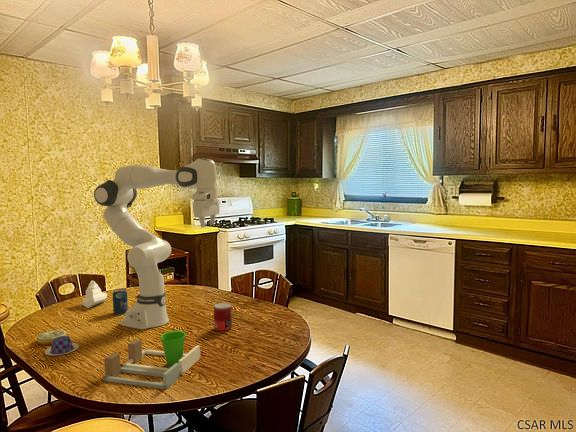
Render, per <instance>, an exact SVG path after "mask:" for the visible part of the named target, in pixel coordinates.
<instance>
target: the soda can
mask: <svg viewBox="0 0 576 432" xmlns="http://www.w3.org/2000/svg"><path fill="white" fill-rule="evenodd" d="M128 304H129V303H128V292H127V290H126V288H117V289H114V290H113V292H112V311H113V314H115V315H116V314H117V315H118V316H120V315H124V314H126V311H127V310H128V309H129V305H128Z"/></svg>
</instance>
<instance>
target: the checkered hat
mask: <svg viewBox="0 0 576 432" xmlns="http://www.w3.org/2000/svg"><path fill="white" fill-rule="evenodd" d="M73 346H74V347H75V349H74V347H73ZM79 347H80V345H79V344H78V343H74V342H72V340H71V338H70V336H68V335H66V336H60V337H57V338H55V339H54V340H53V342H52V344H51V346H50V347H48V348H46V349H45V351H44V355H47V356H56V355H58V356H63V355H66V354H70V353H72V352H74V351H76V350H78V349H79Z"/></svg>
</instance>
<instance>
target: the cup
mask: <svg viewBox="0 0 576 432" xmlns="http://www.w3.org/2000/svg"><path fill="white" fill-rule="evenodd" d="M186 333H187V332H185V331H183V330H171V331H166V332H164V333H162V334H160V339H161V342H162V347H163V351H164V353H165V356H164V358H165V361H166V365H167V368H171V367H172V366H173V365H174V364H175V363H179V360H180V359H181V358H182V356H183V353H184V347H185V340H186V336H187V334H186Z"/></svg>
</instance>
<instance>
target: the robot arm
mask: <svg viewBox="0 0 576 432" xmlns="http://www.w3.org/2000/svg"><path fill="white" fill-rule="evenodd" d="M217 178H218V176H217V167H216V162H215V161H214V160H213V159H210V158H204V157H199V158H197V159H196V160H194V161H193V162H192V163H189V164H187V165H184V166H181V167H179V168H178V169H176V170H171V169H164V168H159V167H156V166H151V165H146V164H145V165H144V164H130V165H124V166H121V167H118V168H117V169H116V171H115V173H114V179H113V180H111V179H107V180H106V181H105V182H103V183H101V184H99V185H98V186H97V187H96V188H95V189H94V192H93V198H94V200H95V202H96V203H97V204H98V205H100V206H104V207H106V208H105V209H104V211H103V215H102V217H103V219H104V220H105V223H106V224H107V225H108V227H109V228H110V229H111V230H112V232H113V233H114V234H115V235H116V236H117V237H118V239H120V240H121V241H122V242H123V243H124V244H125V245H127V246H129V247H132V248H130V249H129V250H128V252H127V255H126V256H127V262H128V263H129V265H130V266H131V267H133V268H134V270H135V272H136V274H137V278H138V284H139V294H138V295H136V296H135V298H134V300H136V302H134V304H132V305H131V306H130V307H128V310H127V311H126V313H125V316H124V318H123V319H122V320H121V321H120V322H119V325H120V326H123V327H127V328H132V329H138V330H146V329H149V328H157V327H161V326H164V325H166V324H167V323H169V322H170V319H169V316H168V311H167V306H166V291H165V278H164V275H163V274H162V273H161V272H160V270H159V267H158V264H159V263H162V262H164V261H166V260H167V259H168V258H169V257H170V256H171V255H172V246H171V244H170V242H168V241H167V240H165V239H162V238H160V237H158V236H156V235H155V234H153V233H151V232H150V231H148V230H147V229H146V228H144V226H143V225H141V223H140V222H138V220H136V218H134V216H133V215H132V214H131V213H130V212H129V211H128V208H131V206H132V205H133V203H134V202H135V200H136V199H137V196H138V193H137V192H138V191H137V189H138V190H140V189H141V190H142V189H149V188H155V187H160V186H164V185H170V184H173V185H174V184H177V185H179V186H180V187H182V188H184V189H185V188H186V189H187V188H188V189H190V188H193V189H194V188H196V191H195V192H194V193H193V194H192V195H191V199H192V212H193V217H194V218H198V221H199V223H200V228H206V227H207V225H206V221H205V220H206V217H210V220H209V225H210V226H214V225H215V220H216V215H219V214H220V211H221V210H220V202H219V199H218V188H217Z"/></svg>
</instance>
